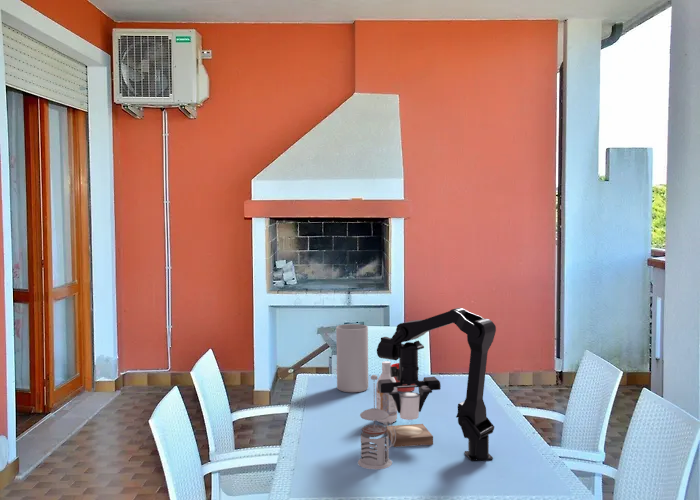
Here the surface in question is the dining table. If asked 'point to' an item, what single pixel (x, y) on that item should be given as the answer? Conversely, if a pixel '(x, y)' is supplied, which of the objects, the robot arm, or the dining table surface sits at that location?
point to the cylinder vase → (352, 357)
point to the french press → (381, 455)
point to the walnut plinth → (410, 435)
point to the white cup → (409, 405)
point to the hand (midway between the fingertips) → (409, 412)
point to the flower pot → (399, 381)
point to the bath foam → (386, 396)
